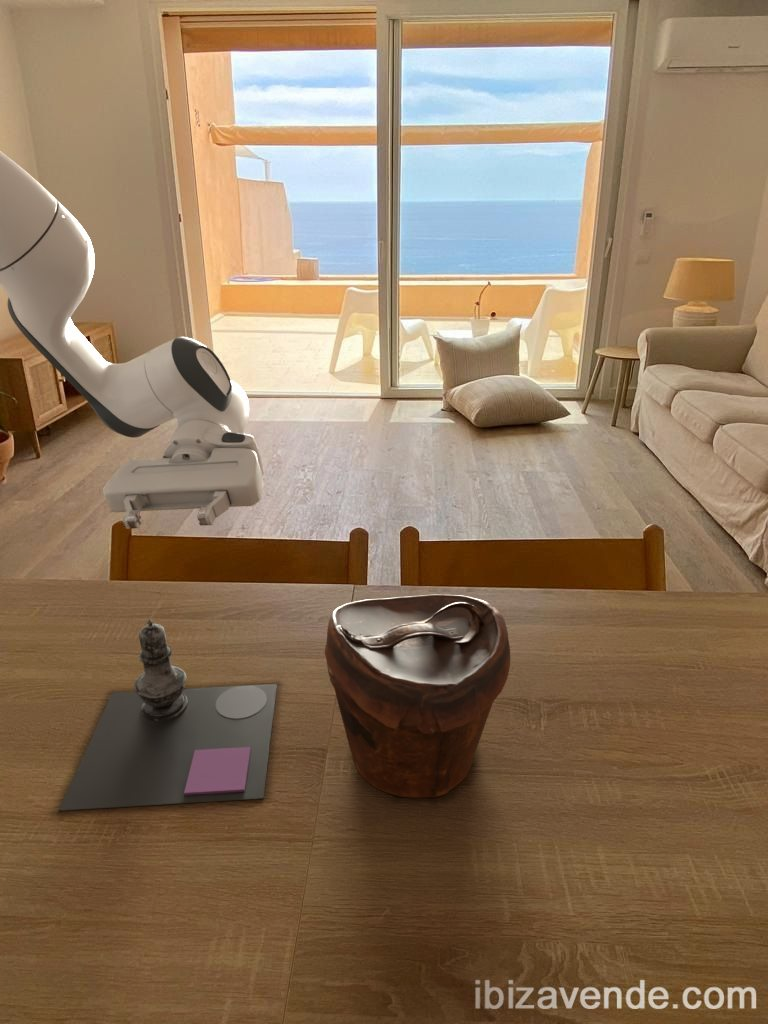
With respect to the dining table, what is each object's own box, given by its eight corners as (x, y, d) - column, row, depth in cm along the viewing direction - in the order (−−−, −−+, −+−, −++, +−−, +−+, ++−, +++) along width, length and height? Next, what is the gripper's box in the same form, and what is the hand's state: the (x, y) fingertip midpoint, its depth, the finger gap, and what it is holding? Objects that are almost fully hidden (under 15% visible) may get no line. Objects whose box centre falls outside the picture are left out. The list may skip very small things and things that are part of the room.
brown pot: (532, 731, 78) (545, 593, 70) (443, 860, 63) (448, 701, 55) (398, 676, 87) (398, 549, 80) (293, 777, 72) (280, 631, 64)
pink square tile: (184, 795, 70) (183, 793, 70) (195, 752, 75) (194, 750, 75) (244, 791, 70) (244, 789, 70) (250, 748, 76) (250, 746, 75)
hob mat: (58, 811, 68) (58, 810, 68) (112, 693, 85) (111, 692, 85) (263, 798, 69) (263, 797, 69) (277, 684, 86) (276, 683, 86)
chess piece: (128, 718, 80) (110, 631, 75) (155, 686, 85) (140, 603, 81) (174, 726, 79) (159, 637, 74) (199, 693, 84) (186, 609, 79)
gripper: (118, 443, 94) (76, 506, 83) (264, 434, 92) (240, 498, 81) (134, 481, 98) (95, 545, 87) (274, 473, 95) (253, 539, 85)
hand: (166, 523), depth 84 cm, fingers open, 8 cm apart
